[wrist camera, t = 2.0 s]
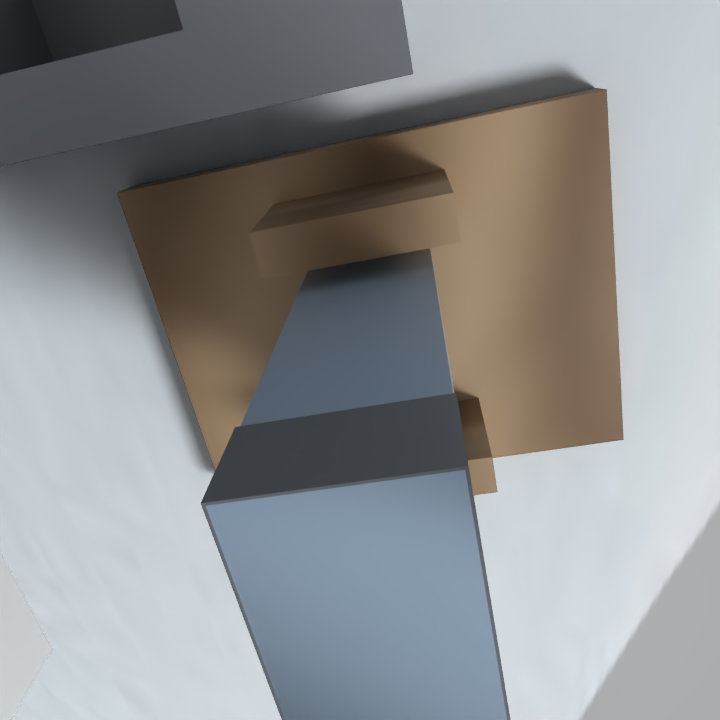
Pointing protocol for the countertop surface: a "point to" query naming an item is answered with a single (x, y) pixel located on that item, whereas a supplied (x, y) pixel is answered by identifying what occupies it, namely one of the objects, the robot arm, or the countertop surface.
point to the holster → (401, 235)
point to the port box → (178, 63)
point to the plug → (360, 509)
